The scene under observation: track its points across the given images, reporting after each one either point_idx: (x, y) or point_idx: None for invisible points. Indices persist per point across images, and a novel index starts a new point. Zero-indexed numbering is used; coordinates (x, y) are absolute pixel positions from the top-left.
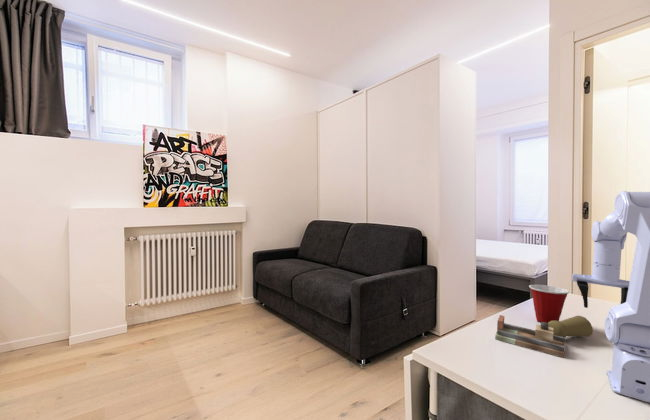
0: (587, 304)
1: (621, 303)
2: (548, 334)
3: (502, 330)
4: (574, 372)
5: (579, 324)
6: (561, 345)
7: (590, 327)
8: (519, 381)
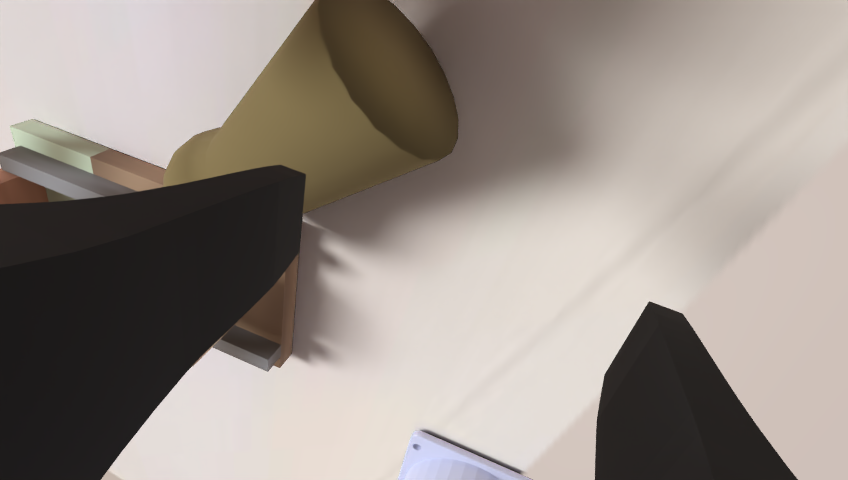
0: (267, 286)
1: (643, 448)
2: None
3: None
4: (311, 433)
5: (333, 187)
6: (274, 299)
7: (422, 166)
8: (187, 473)
